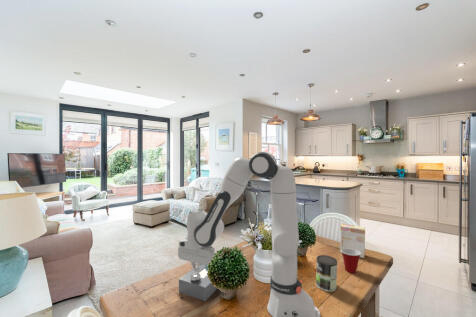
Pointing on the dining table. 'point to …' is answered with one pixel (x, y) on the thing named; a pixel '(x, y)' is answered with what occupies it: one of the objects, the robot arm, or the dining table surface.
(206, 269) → the cartridge
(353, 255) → the plastic cup
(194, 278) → the plunger
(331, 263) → the coffee can
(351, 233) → the coffeecake box
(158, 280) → the dining table surface
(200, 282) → the filter housing
